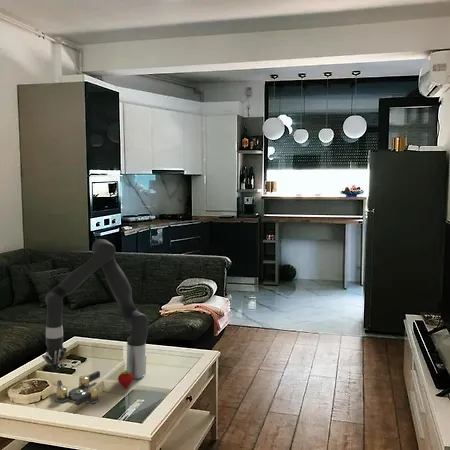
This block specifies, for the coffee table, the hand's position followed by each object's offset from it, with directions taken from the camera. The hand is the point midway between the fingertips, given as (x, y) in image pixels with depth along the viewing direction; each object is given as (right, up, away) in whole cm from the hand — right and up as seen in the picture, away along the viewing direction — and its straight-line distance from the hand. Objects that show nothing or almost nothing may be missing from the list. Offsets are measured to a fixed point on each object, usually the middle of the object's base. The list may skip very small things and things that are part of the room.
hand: (54, 370), depth 230 cm
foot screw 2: (+17, -11, -9) cm, 23 cm away
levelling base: (+14, -11, -3) cm, 18 cm away
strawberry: (+31, -11, +8) cm, 34 cm away
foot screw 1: (+4, -10, -3) cm, 11 cm away
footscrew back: (+14, -9, +9) cm, 19 cm away
